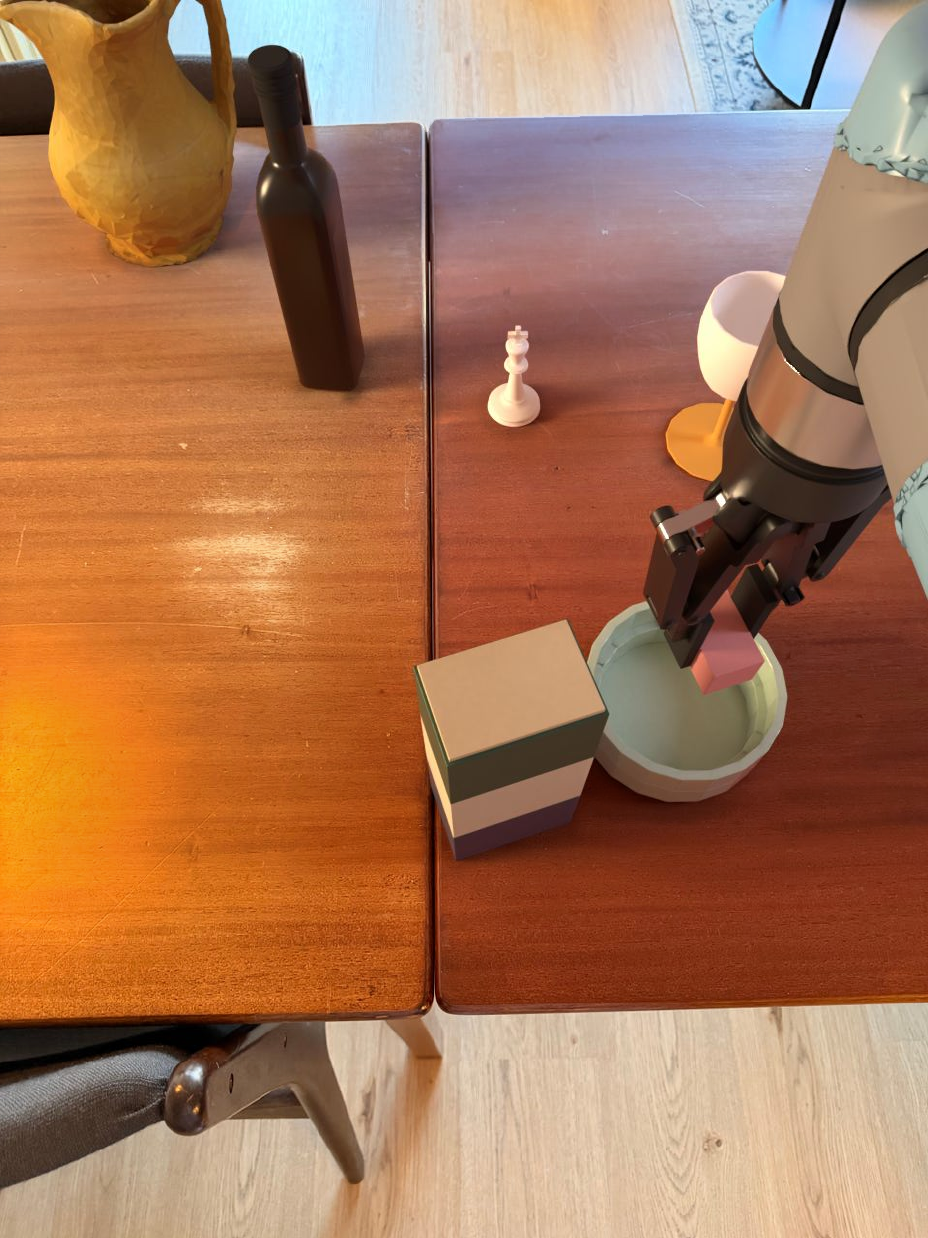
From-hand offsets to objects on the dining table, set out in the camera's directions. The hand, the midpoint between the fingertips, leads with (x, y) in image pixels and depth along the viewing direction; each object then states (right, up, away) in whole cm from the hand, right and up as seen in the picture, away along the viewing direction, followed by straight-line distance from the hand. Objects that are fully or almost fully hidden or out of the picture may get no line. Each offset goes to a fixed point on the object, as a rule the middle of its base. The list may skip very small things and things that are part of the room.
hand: (706, 640), depth 59 cm
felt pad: (-14, -2, -11) cm, 18 cm away
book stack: (-13, -12, +8) cm, 20 cm away
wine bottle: (-29, +25, +28) cm, 48 cm away
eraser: (0, 0, 0) cm, 0 cm away
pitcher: (-47, +43, +38) cm, 74 cm away
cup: (+7, +18, +24) cm, 30 cm away
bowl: (0, -6, +11) cm, 13 cm away
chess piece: (-11, +21, +26) cm, 35 cm away
